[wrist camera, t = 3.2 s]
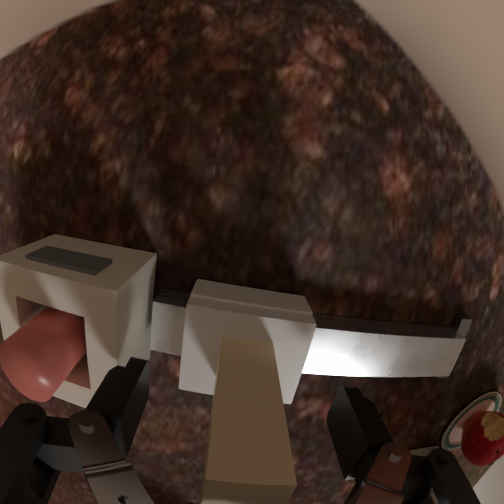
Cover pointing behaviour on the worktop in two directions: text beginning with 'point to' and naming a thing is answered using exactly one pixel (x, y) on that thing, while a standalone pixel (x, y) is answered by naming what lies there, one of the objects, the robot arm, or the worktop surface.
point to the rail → (342, 342)
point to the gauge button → (43, 352)
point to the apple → (478, 431)
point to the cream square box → (83, 301)
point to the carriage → (246, 386)
